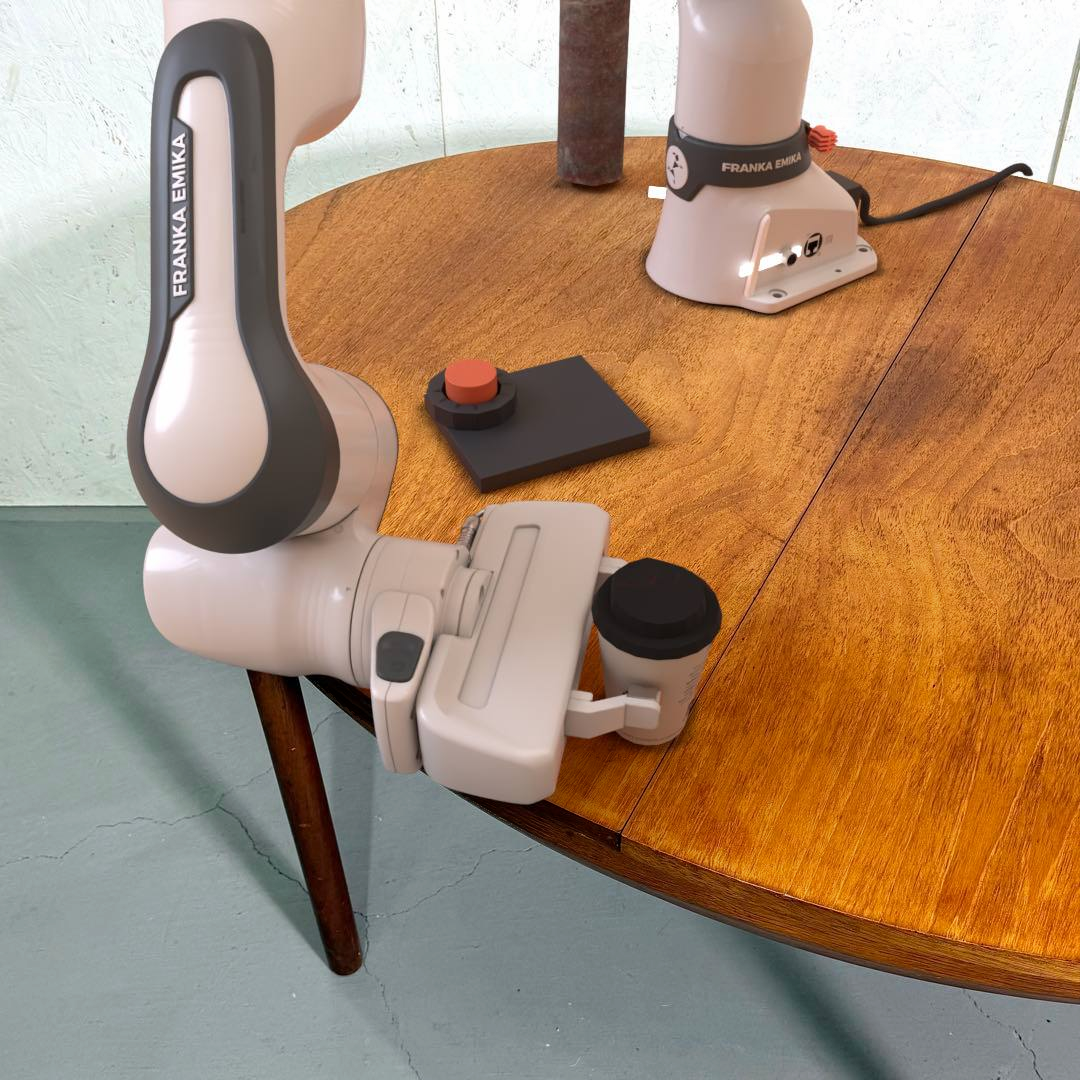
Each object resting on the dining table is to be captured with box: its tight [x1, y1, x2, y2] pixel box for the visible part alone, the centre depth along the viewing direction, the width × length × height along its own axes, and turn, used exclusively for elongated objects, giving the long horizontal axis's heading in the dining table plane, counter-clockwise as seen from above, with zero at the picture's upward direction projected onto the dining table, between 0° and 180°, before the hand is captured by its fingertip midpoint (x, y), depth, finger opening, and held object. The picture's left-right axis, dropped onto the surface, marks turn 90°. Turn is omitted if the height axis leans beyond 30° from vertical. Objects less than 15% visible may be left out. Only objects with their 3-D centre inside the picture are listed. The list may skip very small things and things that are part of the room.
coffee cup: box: [591, 556, 723, 746], centre depth 59 cm, size 7×7×10 cm
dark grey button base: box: [423, 354, 651, 494], centre depth 83 cm, size 14×12×3 cm
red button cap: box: [445, 358, 497, 405], centre depth 82 cm, size 4×4×2 cm
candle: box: [556, 0, 631, 187], centre depth 112 cm, size 8×7×20 cm
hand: (669, 652), depth 58 cm, fingers closed on coffee cup, 7 cm apart
